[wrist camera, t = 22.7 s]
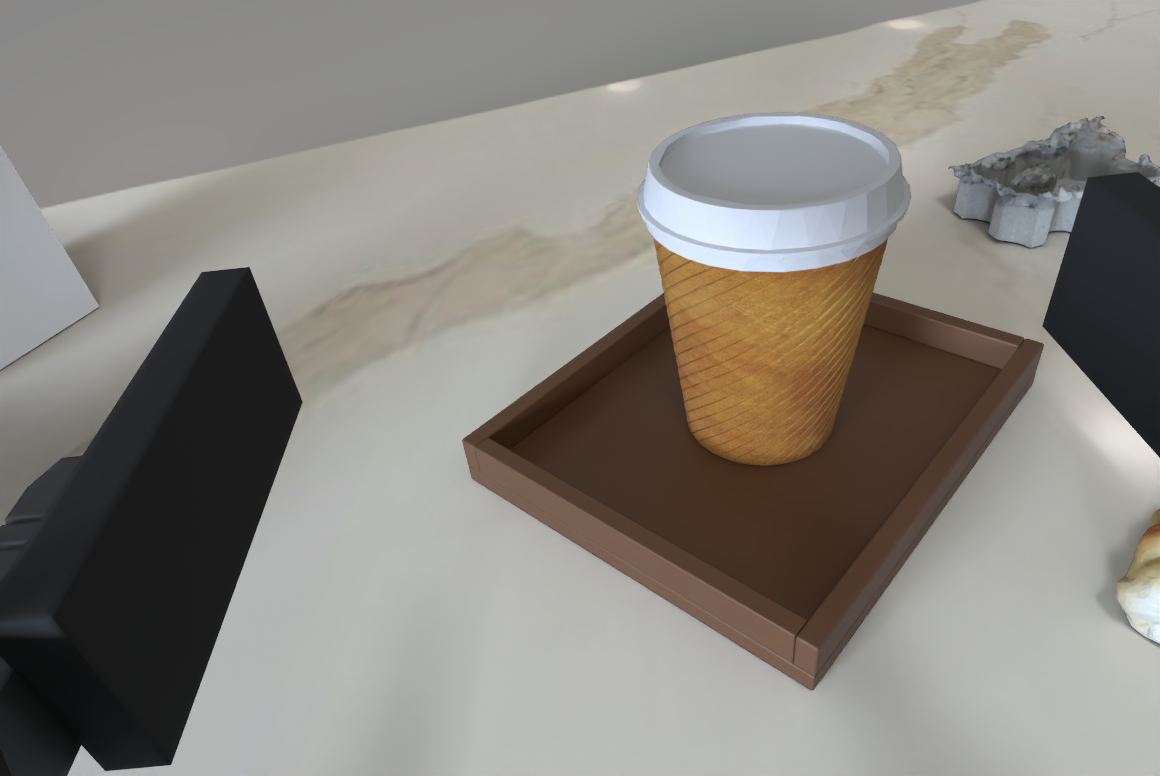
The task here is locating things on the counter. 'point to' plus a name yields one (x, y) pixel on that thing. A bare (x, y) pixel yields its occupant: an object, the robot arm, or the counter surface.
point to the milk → (33, 273)
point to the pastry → (1144, 584)
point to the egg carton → (1042, 181)
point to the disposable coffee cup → (769, 270)
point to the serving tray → (759, 475)
